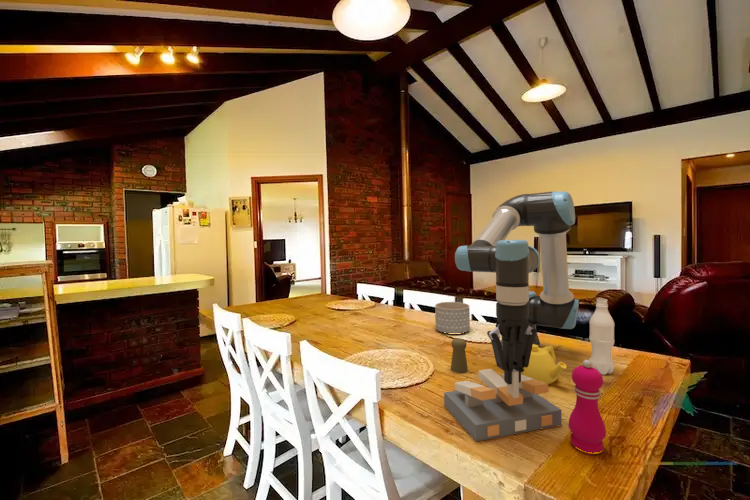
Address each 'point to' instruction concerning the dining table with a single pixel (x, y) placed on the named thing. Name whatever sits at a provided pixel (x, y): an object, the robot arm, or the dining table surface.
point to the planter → (452, 317)
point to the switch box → (501, 414)
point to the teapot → (543, 365)
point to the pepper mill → (587, 409)
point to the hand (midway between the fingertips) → (512, 395)
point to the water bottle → (602, 338)
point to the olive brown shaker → (459, 356)
